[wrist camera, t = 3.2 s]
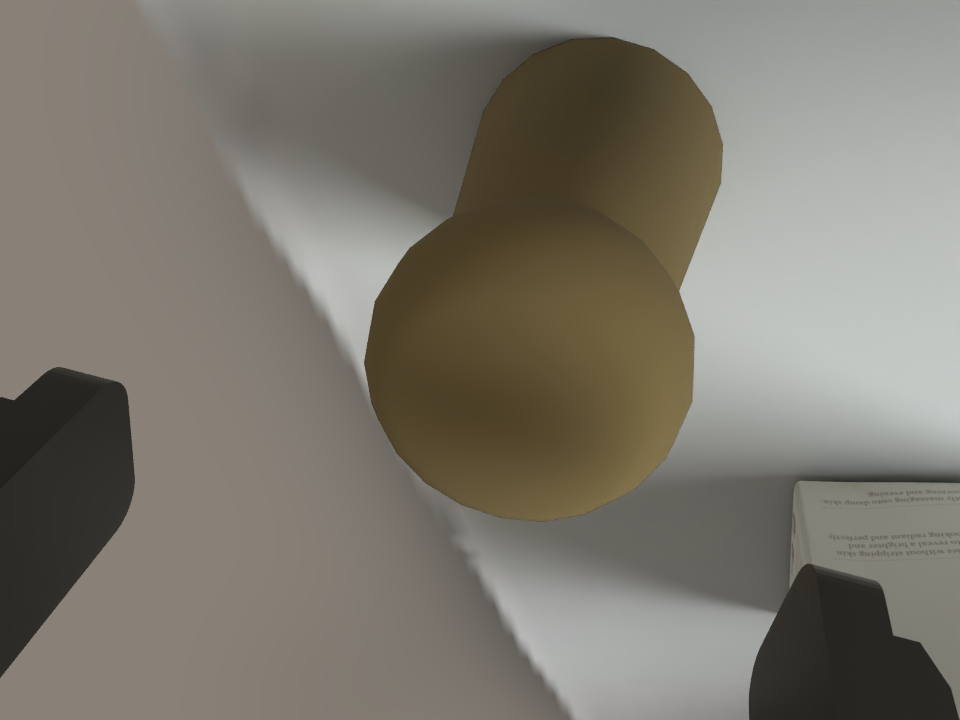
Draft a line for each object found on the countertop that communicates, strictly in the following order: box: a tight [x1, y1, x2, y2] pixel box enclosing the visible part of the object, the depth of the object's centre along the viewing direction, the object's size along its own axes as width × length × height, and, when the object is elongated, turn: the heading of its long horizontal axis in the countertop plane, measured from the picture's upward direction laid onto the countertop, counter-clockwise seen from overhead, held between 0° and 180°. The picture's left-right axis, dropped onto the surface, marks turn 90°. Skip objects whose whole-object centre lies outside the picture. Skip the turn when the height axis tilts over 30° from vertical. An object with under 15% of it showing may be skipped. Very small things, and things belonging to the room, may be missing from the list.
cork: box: [364, 38, 723, 522], centre depth 18 cm, size 6×6×11 cm
